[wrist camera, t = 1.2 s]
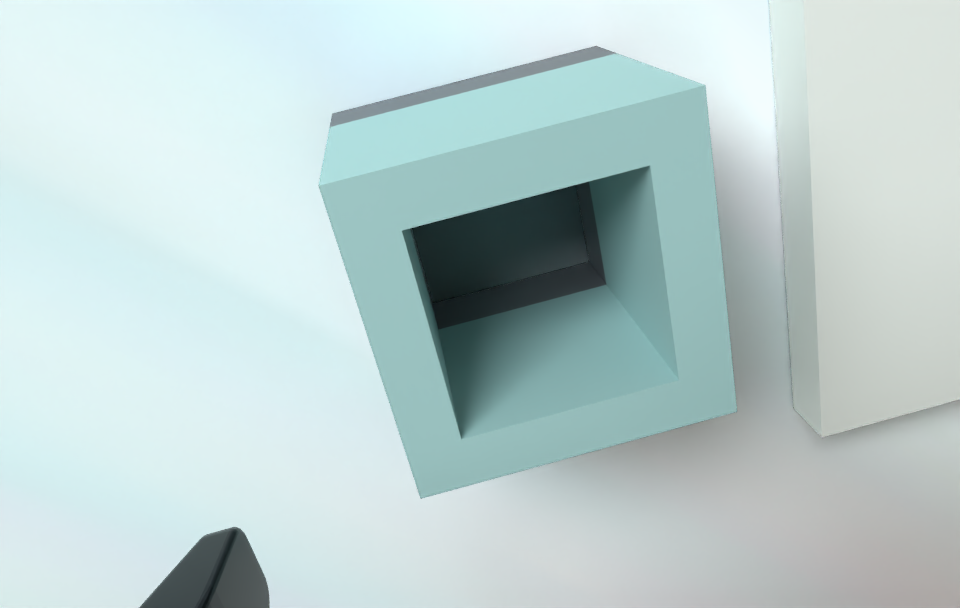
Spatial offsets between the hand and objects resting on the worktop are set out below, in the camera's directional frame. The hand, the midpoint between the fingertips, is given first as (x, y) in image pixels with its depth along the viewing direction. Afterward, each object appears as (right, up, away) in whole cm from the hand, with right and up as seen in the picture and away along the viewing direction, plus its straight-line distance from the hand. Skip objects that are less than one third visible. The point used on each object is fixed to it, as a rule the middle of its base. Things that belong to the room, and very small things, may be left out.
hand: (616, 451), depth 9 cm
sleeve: (-1, +4, +9) cm, 10 cm away
